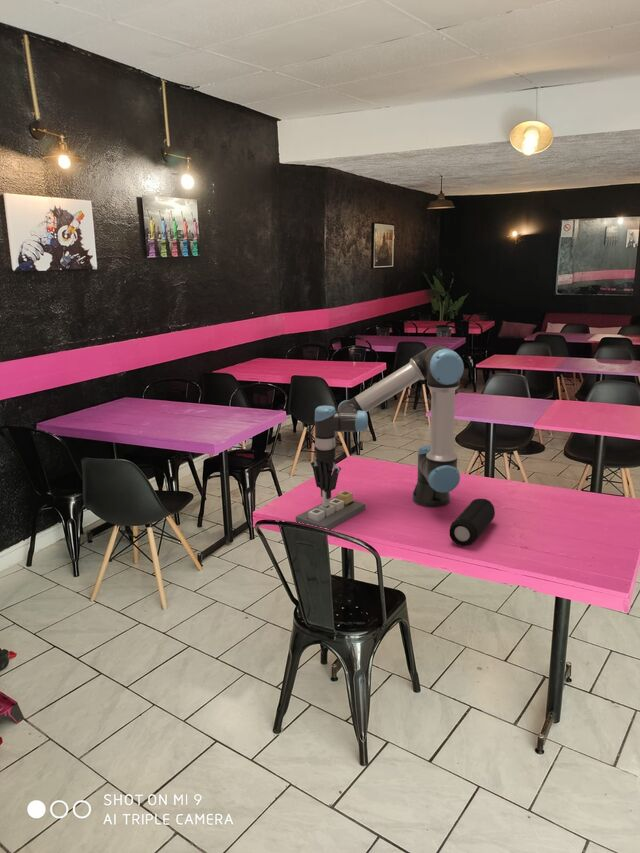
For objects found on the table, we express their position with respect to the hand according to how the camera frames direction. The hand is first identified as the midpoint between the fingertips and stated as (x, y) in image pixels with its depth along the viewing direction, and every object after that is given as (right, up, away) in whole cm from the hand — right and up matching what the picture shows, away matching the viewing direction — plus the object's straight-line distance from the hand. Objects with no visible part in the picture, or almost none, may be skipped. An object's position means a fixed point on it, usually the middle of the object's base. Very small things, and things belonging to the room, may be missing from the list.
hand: (326, 505), depth 239 cm
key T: (+4, -2, +6) cm, 7 cm away
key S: (+8, +1, +10) cm, 12 cm away
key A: (0, -4, +1) cm, 4 cm away
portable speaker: (+53, -9, -13) cm, 55 cm away
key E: (-4, -5, -3) cm, 7 cm away
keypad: (+2, -5, +4) cm, 6 cm away
